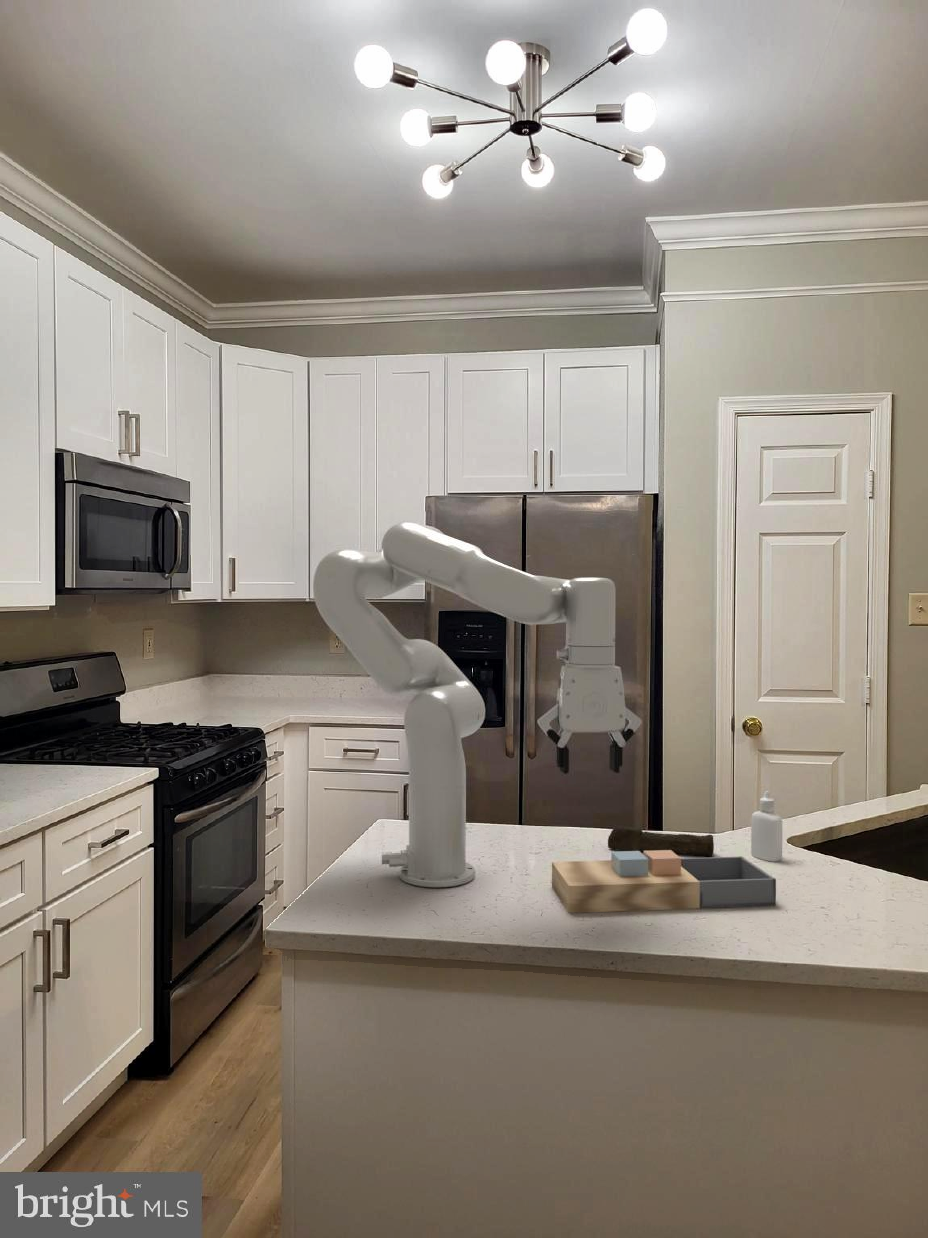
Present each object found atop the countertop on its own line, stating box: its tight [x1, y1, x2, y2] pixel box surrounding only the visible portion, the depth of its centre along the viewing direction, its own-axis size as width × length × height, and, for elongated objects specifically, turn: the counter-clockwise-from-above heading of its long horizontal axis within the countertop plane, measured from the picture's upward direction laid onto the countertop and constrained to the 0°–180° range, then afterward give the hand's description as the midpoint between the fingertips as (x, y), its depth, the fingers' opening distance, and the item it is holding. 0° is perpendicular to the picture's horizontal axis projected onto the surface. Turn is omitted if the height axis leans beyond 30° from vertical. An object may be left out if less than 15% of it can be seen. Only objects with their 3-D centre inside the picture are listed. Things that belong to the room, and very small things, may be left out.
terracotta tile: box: [642, 850, 681, 875], centre depth 135 cm, size 4×4×2 cm
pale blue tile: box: [610, 850, 648, 876], centre depth 135 cm, size 4×4×2 cm
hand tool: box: [607, 825, 715, 857], centre depth 160 cm, size 19×4×5 cm, turn 75°
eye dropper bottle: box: [750, 791, 783, 863], centre depth 156 cm, size 4×6×12 cm
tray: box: [680, 856, 777, 909], centre depth 136 cm, size 12×12×4 cm
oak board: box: [551, 859, 701, 914], centre depth 135 cm, size 20×12×4 cm, turn 96°
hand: (589, 771), depth 134 cm, fingers open, 7 cm apart
